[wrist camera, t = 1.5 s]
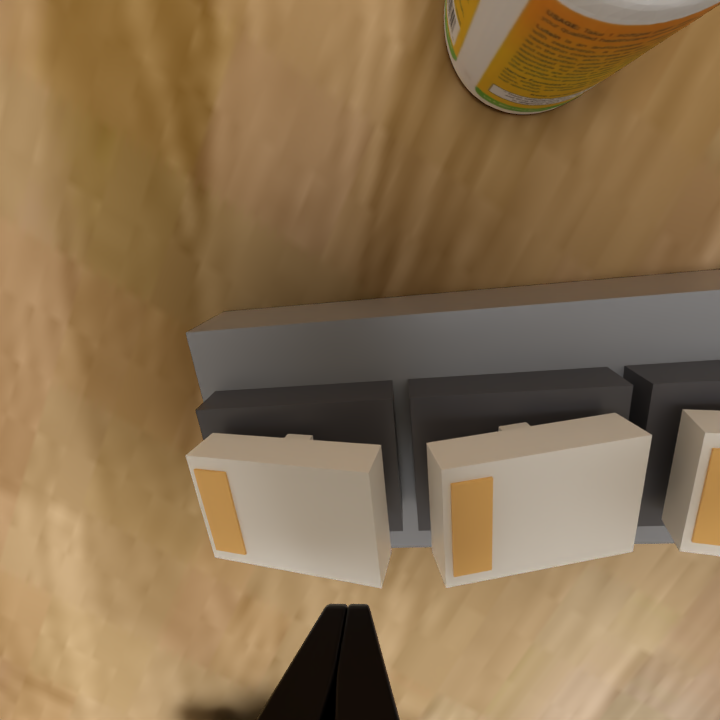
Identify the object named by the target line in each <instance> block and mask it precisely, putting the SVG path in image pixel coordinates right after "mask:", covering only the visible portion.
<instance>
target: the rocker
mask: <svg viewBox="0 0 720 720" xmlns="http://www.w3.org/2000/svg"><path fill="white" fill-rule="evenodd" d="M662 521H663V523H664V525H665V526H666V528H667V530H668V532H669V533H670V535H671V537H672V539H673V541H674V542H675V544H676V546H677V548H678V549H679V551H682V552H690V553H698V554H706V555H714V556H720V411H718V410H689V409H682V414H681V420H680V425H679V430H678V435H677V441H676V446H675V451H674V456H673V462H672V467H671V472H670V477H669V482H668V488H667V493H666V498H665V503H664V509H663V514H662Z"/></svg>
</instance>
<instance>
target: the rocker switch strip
mask: <svg viewBox="0 0 720 720" xmlns="http://www.w3.org/2000/svg"><path fill="white" fill-rule="evenodd" d="M186 336H187V340H188V344H189V348H190V351H191V355H192V359H193V363H194V367H195V371H196V375H197V378H198V382H199V386H200V390H201V394H202V398H203V403H202V404H201V405H200V406H199V407H198V408H197V409H196V414H197V418H198V422H199V425H200V429H201V433H202V436H203V440H205V439H206V438H207V437H208V436H210V435H211V434H212V433H222V434H236V435H250V436H264V437H278V438H285V437H286V435H287V434H300V435H313V440H319V441H333V442H347V443H361V444H375V445H381V449H382V460H383V470H384V480H385V491H386V501H387V512H388V522H389V532H390V543H391V548H401V547H432V541H431V521H430V502H429V483H428V464H427V445H426V443H429V442H435V441H441V440H448V439H454V438H460V437H466V436H473V435H479V434H485V433H491V432H498V429H499V426H505V425H511V424H517V423H523V422H527V423H528V424H529V425H530V426H535V425H541V424H548V423H554V422H560V421H566V420H572V419H579V418H585V417H591V416H597V415H604V414H610V413H617V414H618V415H620V416H622V417H623V418H625V419H627V420H628V421H630V422H632V423H633V424H635V425H637V426H638V427H640V428H642V429H643V430H645V431H646V432H648V433H650V434H651V435H652V439H651V445H650V451H649V457H648V463H647V469H646V475H645V481H644V487H643V493H642V499H641V505H640V512H639V518H638V524H637V530H636V536H635V542H634V544H659V543H675V542H674V541H673V539H672V537H671V535H670V533H669V532H668V530H667V528H666V526H665V525H664V523H663V521H662V514H663V509H664V503H665V498H666V493H667V488H668V482H669V477H670V472H671V467H672V462H673V456H674V451H675V446H676V441H677V435H678V430H679V425H680V420H681V414H682V409H689V410H718V411H720V269H715V270H704V271H692V272H680V273H669V274H657V275H645V276H634V277H622V278H610V279H599V280H587V281H575V282H564V283H552V284H540V285H529V286H517V287H505V288H494V289H482V290H470V291H459V292H447V293H435V294H424V295H412V296H400V297H389V298H377V299H365V300H354V301H342V302H330V303H319V304H307V305H295V306H284V307H272V308H260V309H249V310H237V311H225V312H222V313H220V314H218V315H217V316H215V317H213V318H211V319H209V320H208V321H206V322H204V323H202V324H200V325H199V326H197V327H195V328H193V329H191V330H190V331H188V332H186Z"/></svg>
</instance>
